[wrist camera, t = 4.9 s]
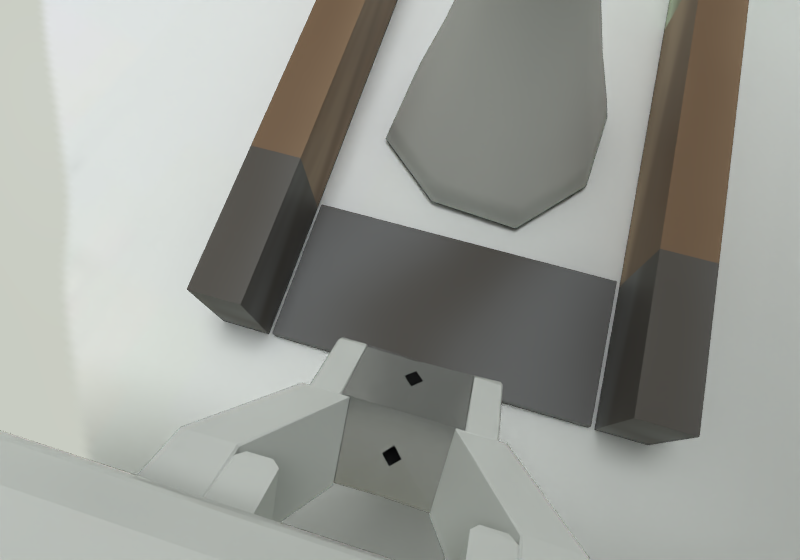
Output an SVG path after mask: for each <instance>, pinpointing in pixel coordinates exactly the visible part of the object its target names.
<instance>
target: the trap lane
mask: <svg viewBox="0 0 800 560" xmlns="http://www.w3.org/2000/svg"><path fill="white" fill-rule="evenodd" d="M396 2H397V0H316V2H315V4H314V6H313V9H312V11H311V13H310V15H309V17H308V20H307V22H306V24H305V26H304V29H303V31H302V33H301V35H300V38H299V40H298V42H297V44H296V46H295V49H294V51H293V53H292V55H291V58H290V60H289V62H288V64H287V67H286V69H285V71H284V73H283V75H282V78H281V80H280V82H279V84H278V87H277V89H276V91H275V93H274V96H273V98H272V100H271V102H270V104H269V107H268V109H267V111H266V113H265V116H264V118H263V120H262V122H261V125H260V127H259V129H258V131H257V133H256V136H255V138H254V140H253V142H252V145H251V147H250V149H249V151H248V154H247V156H246V158H245V160H244V162H243V165H242V167H241V169H240V171H239V174H238V176H237V178H236V180H235V183H234V185H233V187H232V189H231V191H230V194H229V196H228V198H227V200H226V203H225V205H224V207H223V209H222V212H221V214H220V216H219V218H218V220H217V223H216V225H215V227H214V229H213V232H212V234H211V236H210V238H209V241H208V243H207V245H206V247H205V250H204V252H203V254H202V256H201V258H200V261H199V263H198V265H197V267H196V270H195V272H194V274H193V276H192V279H191V281H190V283H189V285H188V287H187V290H188V291H189V292H190V293H192V294H193V295H194V296H195V297H196V298H197V299H199V300H200V301H201V302H202V303H203V304H205V305H206V306H207V307H208V308H209V309H210V310H212V311H213V312H214V313H215V314H216V315H217V316H219V317H220V318H221V319H222V320H223V321H226V322H230V323H233V324H236V325H240V326H243V327H247V328H250V329H254V330H257V331H260V332H264V333H267V334H269V332H270V329H271V327H272V324H273V321H274V319H275V316H276V314H277V311H278V308H279V306H280V303H281V301H282V298H283V295H284V293H285V290H286V288H287V285H288V282H289V280H290V277H291V275H292V272H293V269H294V267H295V264H296V262H297V259H298V256H299V254H300V251H301V249H302V246H303V244H304V241H305V238H306V236H307V233H308V231H309V228H310V225H311V223H312V220H313V218H314V215H315V212H316V210H317V207H318V205H319V202H320V199H321V197H322V194H323V192H324V189H325V186H326V184H327V181H328V179H329V176H330V173H331V171H332V168H333V166H334V163H335V161H336V158H337V155H338V153H339V150H340V148H341V145H342V142H343V140H344V137H345V135H346V132H347V129H348V127H349V124H350V122H351V119H352V116H353V114H354V111H355V109H356V106H357V103H358V101H359V98H360V96H361V93H362V90H363V88H364V85H365V83H366V80H367V77H368V75H369V72H370V70H371V67H372V65H373V62H374V59H375V57H376V54H377V52H378V49H379V46H380V44H381V41H382V39H383V36H384V33H385V31H386V28H387V26H388V23H389V20H390V18H391V15H392V13H393V10H394V7H395V5H396ZM748 4H749V0H670V2H669V8H668V13H667V19H666V25H665V31H664V36H663V42H662V48H661V54H660V59H659V65H658V71H657V76H656V82H655V88H654V94H653V99H652V105H651V111H650V116H649V122H648V128H647V134H646V139H645V145H644V151H643V156H642V162H641V168H640V174H639V179H638V185H637V191H636V197H635V202H634V208H633V214H632V219H631V225H630V231H629V237H628V242H627V248H626V254H625V259H624V265H623V271H622V277H621V282H620V288H619V294H618V299H617V305H616V311H615V317H614V322H613V328H612V334H611V340H610V345H609V351H608V357H607V362H606V368H605V374H604V380H603V385H602V391H601V397H600V402H599V408H598V414H597V420H596V425H595V430H599V431H602V432H605V433H609V434H612V435H616V436H619V437H623V438H626V439H629V440H633V441H636V442H640V443H643V444H646V445H650V444H657V443H663V442H670V441H676V440H683V439H689V438H696V437H699V435H700V427H701V418H702V409H703V400H704V391H705V383H706V374H707V365H708V356H709V347H710V339H711V330H712V321H713V312H714V303H715V295H716V286H717V277H718V268H719V259H720V251H721V242H722V233H723V224H724V215H725V207H726V198H727V189H728V180H729V171H730V163H731V154H732V145H733V136H734V127H735V119H736V110H737V101H738V92H739V83H740V75H741V66H742V57H743V48H744V39H745V31H746V22H747V13H748ZM616 283H617V281H613V280H609V279H605V278H601V277H597V276H594V275H590V274H586V273H582V272H578V271H574V270H571V269H567V268H563V267H559V266H555V265H551V264H548V263H544V262H540V261H536V260H532V259H529V258H525V257H521V256H517V255H513V254H509V253H506V252H502V251H498V250H494V249H490V248H486V247H483V246H479V245H475V244H471V243H467V242H463V241H460V240H456V239H452V238H448V237H444V236H440V235H437V234H433V233H429V232H425V231H421V230H418V229H414V228H410V227H406V226H402V225H398V224H395V223H391V222H387V221H383V220H379V219H375V218H372V217H368V216H364V215H360V214H356V213H352V212H349V211H345V210H341V209H337V208H333V207H329V206H326V205H321V208H320V211H319V213H318V216H317V218H316V221H315V224H314V226H313V229H312V231H311V234H310V237H309V239H308V242H307V244H306V247H305V250H304V252H303V255H302V257H301V260H300V263H299V265H298V268H297V271H296V273H295V276H294V278H293V281H292V284H291V286H290V289H289V291H288V294H287V297H286V299H285V302H284V304H283V307H282V310H281V312H280V315H279V317H278V320H277V323H276V325H275V328H274V331H273V334H274V335H275V336H277V337H281V338H284V339H288V340H291V341H295V342H298V343H301V344H305V345H308V346H312V347H315V348H318V349H322V350H325V351H329V352H331V350H332V349H333V347H334V345H335V344H336V342H337V341H338V340H339V339H340V338H342V337H343V338H347V339H351V340H354V341H358V342H362V343H365V344H367V345H371V346H374V347H378V348H381V349H384V350H387V351H391V352H394V353H397V354H400V355H404V356H407V357H410V358H413V359H417V360H420V362H424V363H428V364H431V365H435V366H439V367H443V368H447V369H451V370H454V371H458V372H462V373H466V374H470V375H473V377H474V375H475V376H479V377H483V378H487V379H491V380H495V381H499V382H501V383H502V385H503V390H502V402H503V403H506V404H510V405H513V406H517V407H520V408H523V409H527V410H530V411H534V412H537V413H541V414H544V415H547V416H551V417H554V418H558V419H561V420H564V421H568V422H571V423H575V424H578V425H582V426H585V427H591V423H592V418H593V412H594V407H595V401H596V395H597V390H598V384H599V378H600V373H601V367H602V361H603V356H604V350H605V345H606V339H607V333H608V328H609V322H610V316H611V311H612V305H613V299H614V294H615V288H616Z"/></svg>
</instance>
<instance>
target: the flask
mask: <svg viewBox="0 0 800 560" xmlns="http://www.w3.org/2000/svg"><path fill="white" fill-rule="evenodd" d="M606 119H607V98H606V86H605V75H604V63H603V51H602V14H601V0H454V2H453V4H452V6H451V8H450V10H449V13H448V15H447V17H446V19H445V20H444V22H443V24H442V26H441V27H440V29H439V31H438V33H437V34H436V36H435V38H434V40H433V42H432V43H431V45H430V47H429V49H428V50H427V52H426V54H425V56H424V57H423V59H422V61H421V63H420V65H419V67H418V69H417V71H416V73H415V75H414V77H413V80H412V82H411V84H410V86H409V88H408V91H407V93H406V95H405V97H404V99H403V102H402V104H401V106H400V108H399V110H398V113H397V115H396V117H395V119H394V121H393V124H392V126H391V128H390V130H389V132H388V135H387V137H386V139H387V141H388V142H389V144H390V145H391V146H392V148H393V149H394V150H395V152H396V153H397V154H398V156H399V157H400V159H401V160H402V161H403V163H404V164H405V165H406V167H407V168H408V169H409V171H410V172H411V174H412V175H413V176H414V178H415V179H416V180H417V182H418V183H419V184H420V186H421V187H422V189H423V190H424V191H425V193H426V194H427V195H428V197H429V198H430V199H431V201H433V202H436V203H439V204H442V205H446V206H449V207H452V208H455V209H458V210H461V211H464V212H467V213H470V214H473V215H476V216H479V217H482V218H485V219H488V220H491V221H494V222H497V223H500V224H503V225H506V226H509V227H513V228H517V227H519V226H521V225H522V224H524V223H526V222H527V221H529V220H531V219H532V218H534V217H535V216H537V215H539V214H540V213H542V212H544V211H545V210H547V209H549V208H550V207H552V206H554V205H555V204H557V203H559V202H560V201H562V200H563V199H565V198H567V197H568V196H570V195H572V194H573V193H575V192H577V191H578V190H580V189H582V188H583V187H585V186H586V185H587V181H588V178H589V175H590V172H591V168H592V165H593V162H594V159H595V155H596V152H597V149H598V146H599V142H600V139H601V136H602V132H603V129H604V126H605V123H606Z"/></svg>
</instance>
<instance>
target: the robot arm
mask: <svg viewBox="0 0 800 560" xmlns="http://www.w3.org/2000/svg"><path fill="white" fill-rule="evenodd" d="M502 390H503V385H502V383H501V382H499V381H495V380H491V379H487V378H483V377H479V376H475V375H474V377H473V375H470V374H466V373H462V372H458V371H454V370H451V369H447V368H443V367H439V366H435V365H431V364H428V363H424V362H420V360H417V359H413V358H410V357H407V356H404V355H400V354H397V353H394V352H391V351H387V350H384V349H381V348H378V347H374V346H371V345H367V344H365V343H362V342H358V341H354V340H351V339H347V338H343V337H342V338H340V339H339V340H338V341H337V342H336V344H335V345H334V347H333V349H332V350H331V352H330V353H329V355H328V357H327V358H326V360H325V361H324V363H323V364H322V366H321V368H320V369H319V371H318V372H317V374H316V376H315V377H314V379H313V380H312V382H311V384H310V385H309V384H305V383H300V384H297V385H294V386H291V387H289V388H286V389H283V390H281V391H278V392H275V393H272V394H270V395H267V396H264V397H261V398H259V399H256V400H253V401H250V402H248V403H245V404H242V405H240V406H237V407H234V408H231V409H229V410H226V411H223V412H220V413H218V414H215V415H212V416H209V417H207V418H204V419H201V420H198V421H196V422H193V423H190V424H188V425H185V426H182V427H180V428H179V429H178V430H177V431H176V432H175V433H174V434H173V436H172V437H171V438H170V439H169V440H168V441H167V442H166V443H165V444H164V446H163V447H162V448H161V449H160V450H159V451H158V452H157V453H156V455H155V456H154V457H153V458H152V459H151V460H150V461H149V462H148V463H147V465H146V466H145V467H144V468H143V469H142V470H141V471H140V472H139V474H138V475H134V474H131V473H128V472H125V471H122V470H119V469H116V468H113V467H110V466H107V465H104V464H101V463H98V462H95V461H92V460H89V459H86V458H82V457H79V456H77V455H73V454H70V453H67V452H64V451H61V450H58V449H55V448H52V447H49V446H46V445H43V444H40V443H37V442H34V441H31V440H28V439H25V438H22V437H18V436H16V435H13V434H9V433H7V432H4V431H0V560H393V559H390V558H387V557H384V556H381V555H378V554H375V553H372V552H369V551H366V550H363V549H360V548H357V547H354V546H351V545H347V544H344V543H341V542H338V541H335V540H332V539H329V538H326V537H323V536H320V535H317V534H314V533H311V532H308V531H305V530H302V529H299V528H295V527H292V526H289V525H286V524H283V523H280V522H281V521H283V520H284V519H286V518H287V517H289V516H290V515H291V514H293V513H294V512H296V511H297V510H299V509H300V508H301V507H303V506H304V505H306V504H307V503H309V502H310V501H311V500H313V499H314V498H316V497H317V496H319V495H320V494H321V493H323V492H324V491H326V490H327V489H329V488H330V487H331V486H333V483H336V484H340V485H343V486H347V487H350V488H354V489H357V490H361V491H364V492H368V493H371V494H375V495H378V496H382V497H385V498H387V499H390V500H393V501H396V502H399V503H402V504H405V505H408V506H410V507H413V508H416V509H419V510H422V511H425V512H428V513H430V515H429V516H430V519H431V521H432V524H433V527H434V530H435V532H436V535H437V538H438V540H439V543H440V546H441V548H442V551H443V554H444V557H445V559H446V560H589V557H588V555H587V554H586V553H585V551H584V550H583V549H582V547H581V546H580V544H579V543H578V542H577V540H576V539H575V537H574V536H573V535H572V533H571V532H570V531H569V529H568V528H567V526H566V525H565V524H564V522H563V521H562V519H561V518H560V517H559V515H558V514H557V512H556V511H555V510H554V508H553V507H552V506H551V504H550V503H549V501H548V500H547V499H546V497H545V496H544V494H543V493H542V492H541V490H540V489H539V488H538V486H537V485H536V483H535V482H534V481H533V479H532V478H531V476H530V475H529V474H528V472H527V471H526V469H525V468H524V467H523V465H522V464H521V463H520V461H519V460H518V458H517V457H516V456H515V454H514V453H513V451H512V450H511V449H510V447H509V446H508V445H507V444H506V443H503V442H500V441H499V430H500V417H501V403H502Z"/></svg>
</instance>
